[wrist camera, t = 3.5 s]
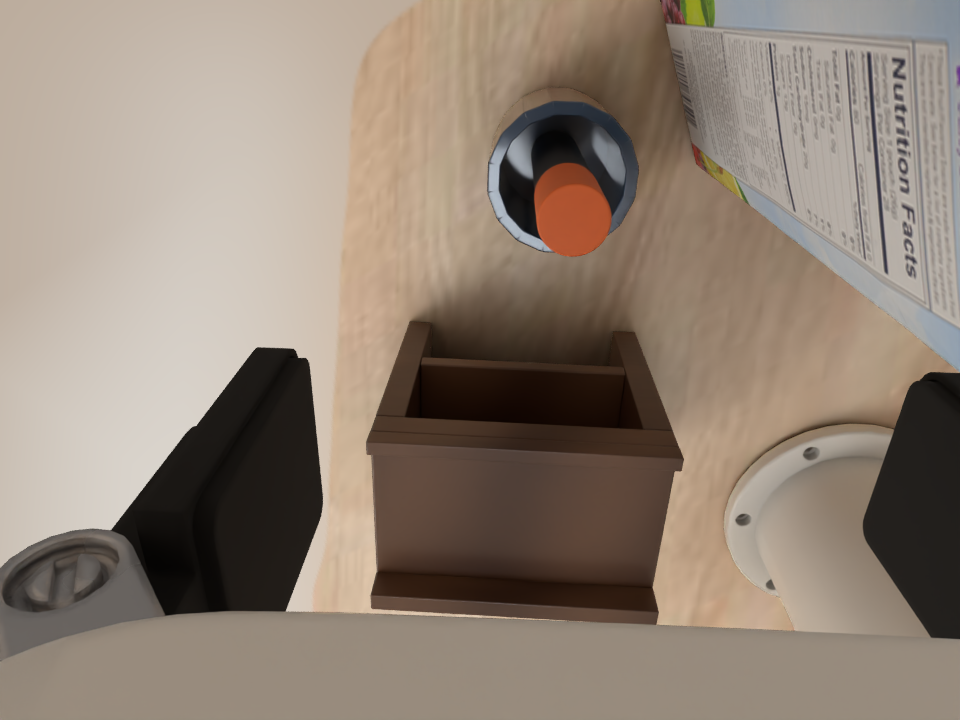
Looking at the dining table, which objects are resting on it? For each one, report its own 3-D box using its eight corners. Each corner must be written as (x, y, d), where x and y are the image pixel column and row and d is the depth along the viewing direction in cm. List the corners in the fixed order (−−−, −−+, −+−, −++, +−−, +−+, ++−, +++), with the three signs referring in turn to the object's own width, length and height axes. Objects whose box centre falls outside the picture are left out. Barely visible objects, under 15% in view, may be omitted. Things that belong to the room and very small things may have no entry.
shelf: (635, 332, 36) (688, 468, 25) (617, 458, 40) (656, 626, 29) (409, 321, 37) (362, 450, 25) (411, 447, 40) (371, 609, 29)
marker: (581, 129, 31) (616, 185, 21) (577, 180, 32) (607, 258, 22) (531, 127, 31) (539, 181, 21) (528, 178, 32) (534, 255, 22)
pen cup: (623, 89, 31) (647, 104, 25) (608, 216, 34) (628, 256, 28) (495, 84, 31) (490, 98, 25) (490, 210, 34) (484, 249, 28)
